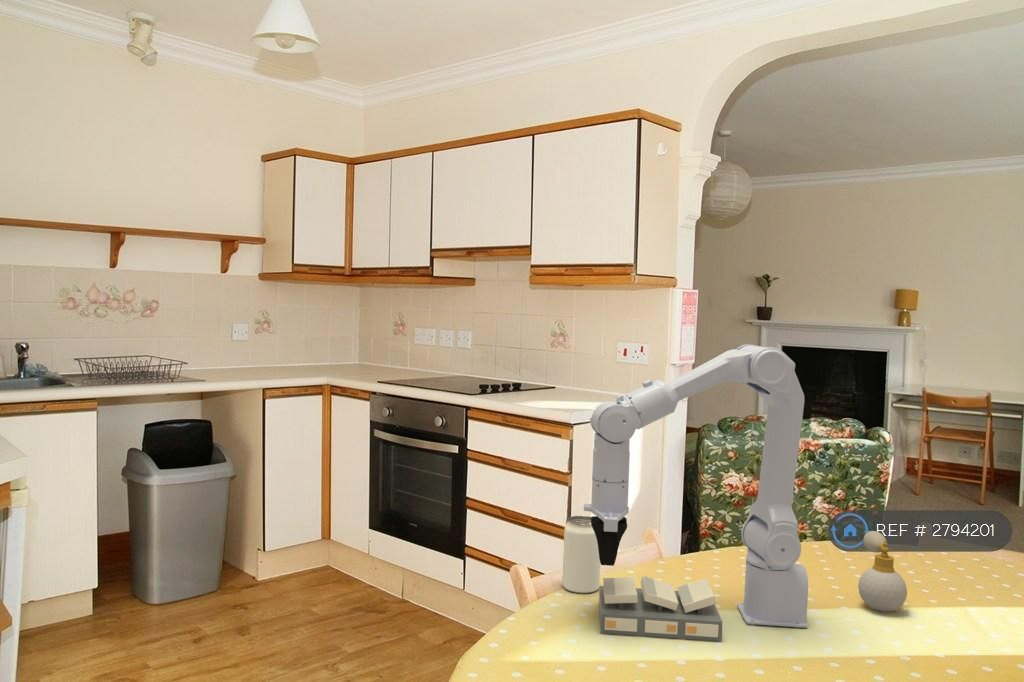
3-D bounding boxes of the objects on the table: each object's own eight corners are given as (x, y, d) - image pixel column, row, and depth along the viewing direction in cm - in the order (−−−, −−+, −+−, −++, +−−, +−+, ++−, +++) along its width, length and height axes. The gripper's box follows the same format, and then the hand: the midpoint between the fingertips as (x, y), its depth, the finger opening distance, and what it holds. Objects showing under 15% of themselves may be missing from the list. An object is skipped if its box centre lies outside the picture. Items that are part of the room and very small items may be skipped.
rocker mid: (670, 591, 131) (672, 584, 131) (676, 610, 123) (678, 602, 123) (640, 582, 132) (642, 574, 132) (644, 600, 124) (646, 592, 124)
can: (597, 596, 138) (600, 526, 137) (559, 592, 139) (562, 523, 139) (600, 583, 144) (603, 516, 144) (564, 579, 146) (567, 513, 145)
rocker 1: (634, 584, 132) (633, 576, 132) (637, 602, 124) (637, 594, 124) (603, 585, 132) (602, 577, 132) (604, 603, 124) (604, 595, 124)
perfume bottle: (880, 620, 132) (885, 547, 131) (837, 598, 141) (841, 530, 140) (916, 615, 134) (920, 544, 134) (871, 594, 143) (875, 527, 143)
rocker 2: (708, 584, 131) (706, 577, 131) (717, 603, 123) (714, 595, 123) (679, 594, 131) (676, 586, 131) (685, 613, 123) (682, 605, 123)
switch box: (709, 610, 133) (710, 588, 133) (721, 642, 121) (723, 617, 121) (598, 603, 134) (599, 581, 134) (600, 634, 122) (601, 609, 122)
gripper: (584, 468, 135) (581, 548, 136) (585, 488, 120) (581, 578, 121) (627, 470, 134) (624, 550, 135) (632, 490, 120) (629, 581, 121)
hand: (607, 564), depth 128 cm, fingers closed
